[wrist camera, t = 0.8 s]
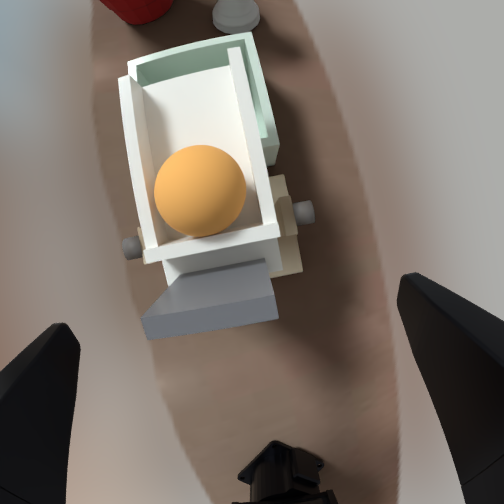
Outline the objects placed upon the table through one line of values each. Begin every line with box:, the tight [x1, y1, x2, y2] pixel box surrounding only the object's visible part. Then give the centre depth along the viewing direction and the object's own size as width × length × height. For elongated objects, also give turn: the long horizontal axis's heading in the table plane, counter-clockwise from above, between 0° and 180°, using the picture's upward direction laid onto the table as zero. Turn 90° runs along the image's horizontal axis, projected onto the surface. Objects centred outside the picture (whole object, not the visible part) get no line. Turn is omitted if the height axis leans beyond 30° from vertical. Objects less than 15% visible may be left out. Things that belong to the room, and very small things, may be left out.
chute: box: [118, 47, 283, 340], centre depth 12 cm, size 11×6×7 cm, turn 11°
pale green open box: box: [128, 32, 280, 167], centre depth 21 cm, size 9×9×6 cm
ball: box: [154, 145, 246, 237], centre depth 13 cm, size 4×4×4 cm
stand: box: [122, 174, 315, 278], centre depth 20 cm, size 8×10×9 cm
